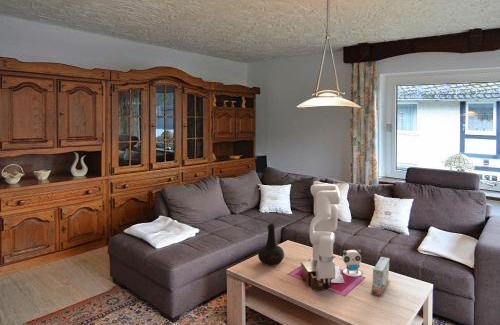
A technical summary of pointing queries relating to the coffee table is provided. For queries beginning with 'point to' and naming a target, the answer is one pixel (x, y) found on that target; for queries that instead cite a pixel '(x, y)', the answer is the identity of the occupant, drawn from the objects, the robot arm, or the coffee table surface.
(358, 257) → the panda figurine
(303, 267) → the cabinet
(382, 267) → the snack box
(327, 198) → the robot arm
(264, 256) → the black vase
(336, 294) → the coffee table surface
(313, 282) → the drawer
